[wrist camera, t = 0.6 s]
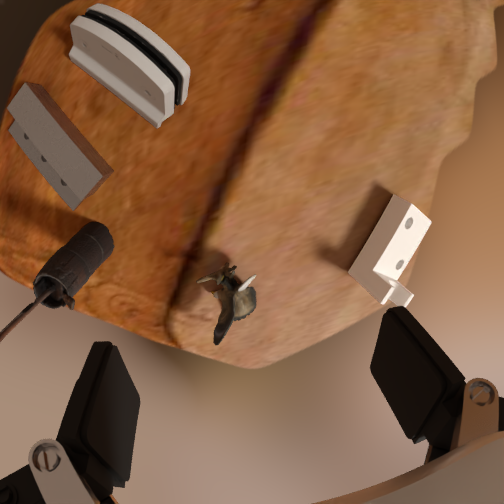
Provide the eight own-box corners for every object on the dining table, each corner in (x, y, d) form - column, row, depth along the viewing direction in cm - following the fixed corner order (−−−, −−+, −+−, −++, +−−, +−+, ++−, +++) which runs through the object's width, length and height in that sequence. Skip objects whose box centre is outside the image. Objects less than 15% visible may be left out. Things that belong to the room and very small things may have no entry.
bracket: (373, 281, 44) (404, 309, 38) (347, 272, 41) (380, 303, 35) (415, 212, 41) (451, 233, 34) (393, 194, 37) (434, 215, 31)
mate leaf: (41, 84, 25) (25, 82, 22) (114, 171, 32) (102, 176, 28) (9, 127, 27) (-7, 129, 23) (78, 211, 33) (65, 221, 29)
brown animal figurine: (181, 275, 37) (201, 339, 39) (210, 284, 31) (231, 358, 33) (231, 255, 42) (246, 315, 44) (267, 259, 36) (281, 328, 38)
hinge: (69, 59, 25) (52, 17, 16) (96, 35, 26) (89, -11, 16) (159, 130, 31) (166, 100, 22) (186, 103, 32) (203, 67, 22)
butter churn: (151, 237, 36) (70, 435, 10) (113, 286, 38) (38, 466, 12) (97, 193, 33) (-66, 325, 7) (64, 246, 35) (-58, 394, 9)
